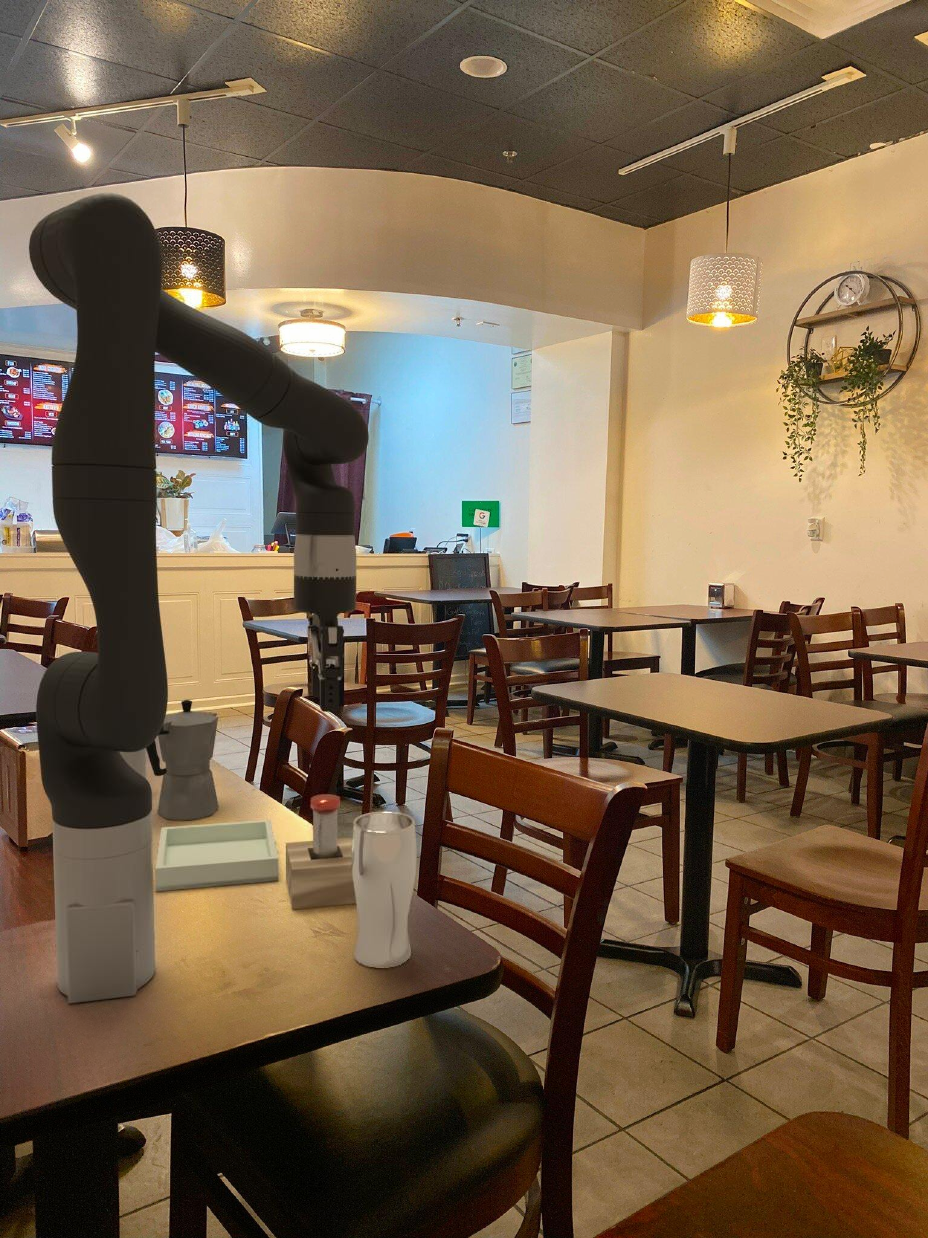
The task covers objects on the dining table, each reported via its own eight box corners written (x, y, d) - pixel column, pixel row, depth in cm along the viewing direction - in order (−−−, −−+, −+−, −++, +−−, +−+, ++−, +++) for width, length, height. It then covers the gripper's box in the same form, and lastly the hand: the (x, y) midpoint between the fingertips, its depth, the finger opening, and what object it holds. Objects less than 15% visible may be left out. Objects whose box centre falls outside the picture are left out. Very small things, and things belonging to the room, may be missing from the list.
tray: (278, 880, 115) (278, 858, 114) (155, 891, 111) (155, 868, 110) (270, 839, 129) (270, 819, 129) (162, 848, 125) (161, 827, 125)
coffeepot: (194, 795, 148) (192, 690, 146) (239, 804, 144) (238, 695, 142) (123, 823, 134) (120, 707, 132) (171, 834, 131) (169, 714, 128)
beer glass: (343, 945, 98) (344, 814, 96) (404, 936, 100) (406, 808, 99) (359, 976, 91) (360, 836, 90) (423, 965, 94) (425, 829, 92)
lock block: (366, 902, 109) (366, 863, 108) (292, 909, 106) (292, 869, 106) (354, 873, 117) (355, 837, 117) (286, 880, 115) (285, 842, 114)
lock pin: (341, 895, 111) (341, 802, 109) (312, 898, 110) (312, 804, 108) (337, 883, 114) (337, 793, 113) (309, 886, 113) (309, 795, 112)
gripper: (366, 576, 102) (364, 715, 104) (347, 568, 115) (346, 691, 117) (299, 576, 100) (300, 718, 101) (288, 568, 113) (288, 693, 115)
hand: (324, 703), depth 109 cm, fingers open, 8 cm apart
